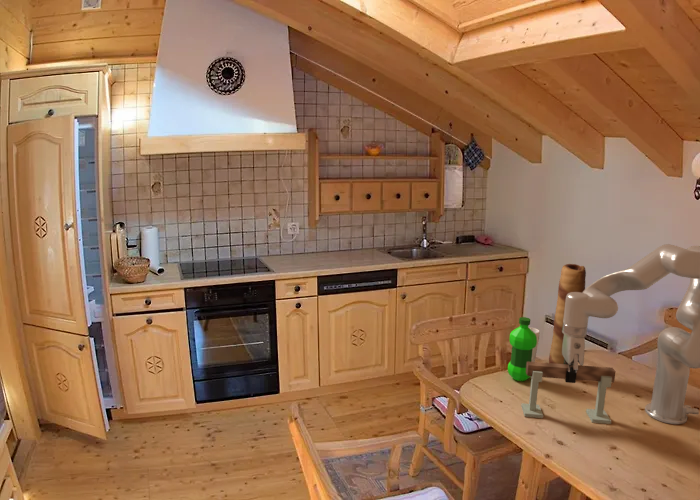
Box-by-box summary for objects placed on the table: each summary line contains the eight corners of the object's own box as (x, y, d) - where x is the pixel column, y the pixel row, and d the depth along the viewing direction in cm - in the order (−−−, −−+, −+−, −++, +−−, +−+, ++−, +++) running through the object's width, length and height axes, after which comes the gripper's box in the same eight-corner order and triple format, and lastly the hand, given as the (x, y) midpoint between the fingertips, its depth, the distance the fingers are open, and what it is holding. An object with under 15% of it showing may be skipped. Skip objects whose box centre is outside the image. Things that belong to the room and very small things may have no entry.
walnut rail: (611, 378, 176) (612, 367, 175) (614, 382, 173) (615, 371, 173) (525, 372, 180) (526, 361, 179) (527, 376, 177) (528, 365, 176)
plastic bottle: (537, 384, 202) (543, 323, 196) (510, 384, 202) (515, 323, 196) (528, 372, 212) (533, 314, 206) (502, 372, 211) (507, 314, 206)
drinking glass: (537, 367, 216) (540, 333, 213) (520, 365, 218) (523, 332, 214) (535, 360, 223) (538, 327, 220) (518, 359, 224) (521, 326, 221)
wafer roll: (577, 371, 213) (590, 265, 204) (573, 381, 205) (585, 271, 195) (551, 365, 219) (562, 261, 209) (545, 374, 210) (556, 267, 200)
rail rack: (604, 413, 181) (609, 369, 178) (610, 424, 175) (617, 378, 171) (521, 406, 185) (525, 363, 182) (524, 416, 179) (528, 372, 175)
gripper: (593, 339, 165) (587, 392, 169) (579, 321, 180) (573, 370, 184) (569, 337, 166) (563, 390, 170) (557, 320, 181) (551, 368, 185)
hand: (568, 379), depth 177 cm, fingers closed on walnut rail, 3 cm apart
